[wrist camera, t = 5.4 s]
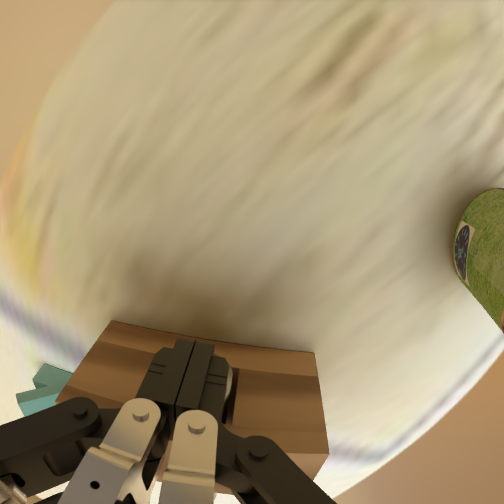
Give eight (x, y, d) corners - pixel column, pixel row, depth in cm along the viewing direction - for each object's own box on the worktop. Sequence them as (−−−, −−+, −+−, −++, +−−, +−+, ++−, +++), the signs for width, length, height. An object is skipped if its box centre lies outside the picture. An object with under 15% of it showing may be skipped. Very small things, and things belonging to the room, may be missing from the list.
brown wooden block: (111, 320, 17) (54, 400, 11) (314, 352, 17) (329, 453, 11) (129, 425, 21) (102, 494, 15) (280, 450, 21) (279, 527, 15)
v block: (41, 362, 20) (11, 400, 15) (114, 386, 20) (89, 434, 15) (67, 428, 23) (48, 463, 18) (130, 450, 23) (116, 490, 18)
